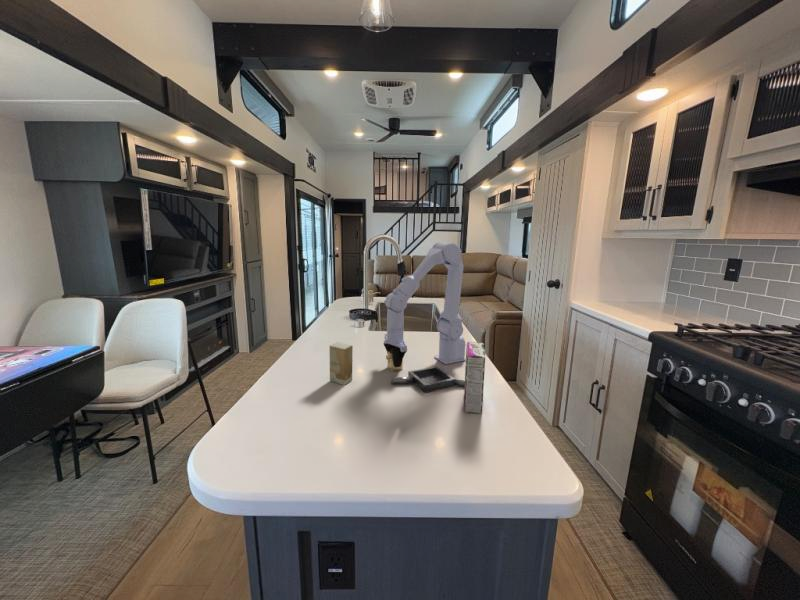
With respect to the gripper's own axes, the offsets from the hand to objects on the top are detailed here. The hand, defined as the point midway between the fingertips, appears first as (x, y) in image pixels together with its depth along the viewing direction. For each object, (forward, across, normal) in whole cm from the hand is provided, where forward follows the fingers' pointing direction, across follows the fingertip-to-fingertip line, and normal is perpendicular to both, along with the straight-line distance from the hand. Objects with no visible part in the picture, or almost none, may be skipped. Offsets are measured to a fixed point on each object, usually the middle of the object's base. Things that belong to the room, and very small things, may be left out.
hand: (394, 364), depth 114 cm
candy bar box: (+2, +31, +10) cm, 33 cm away
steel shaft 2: (+1, +22, +14) cm, 26 cm away
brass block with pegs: (+1, 0, 0) cm, 1 cm away
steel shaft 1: (+1, +12, -3) cm, 12 cm away
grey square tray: (+1, +15, +6) cm, 16 cm away
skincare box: (+2, +2, -20) cm, 20 cm away
